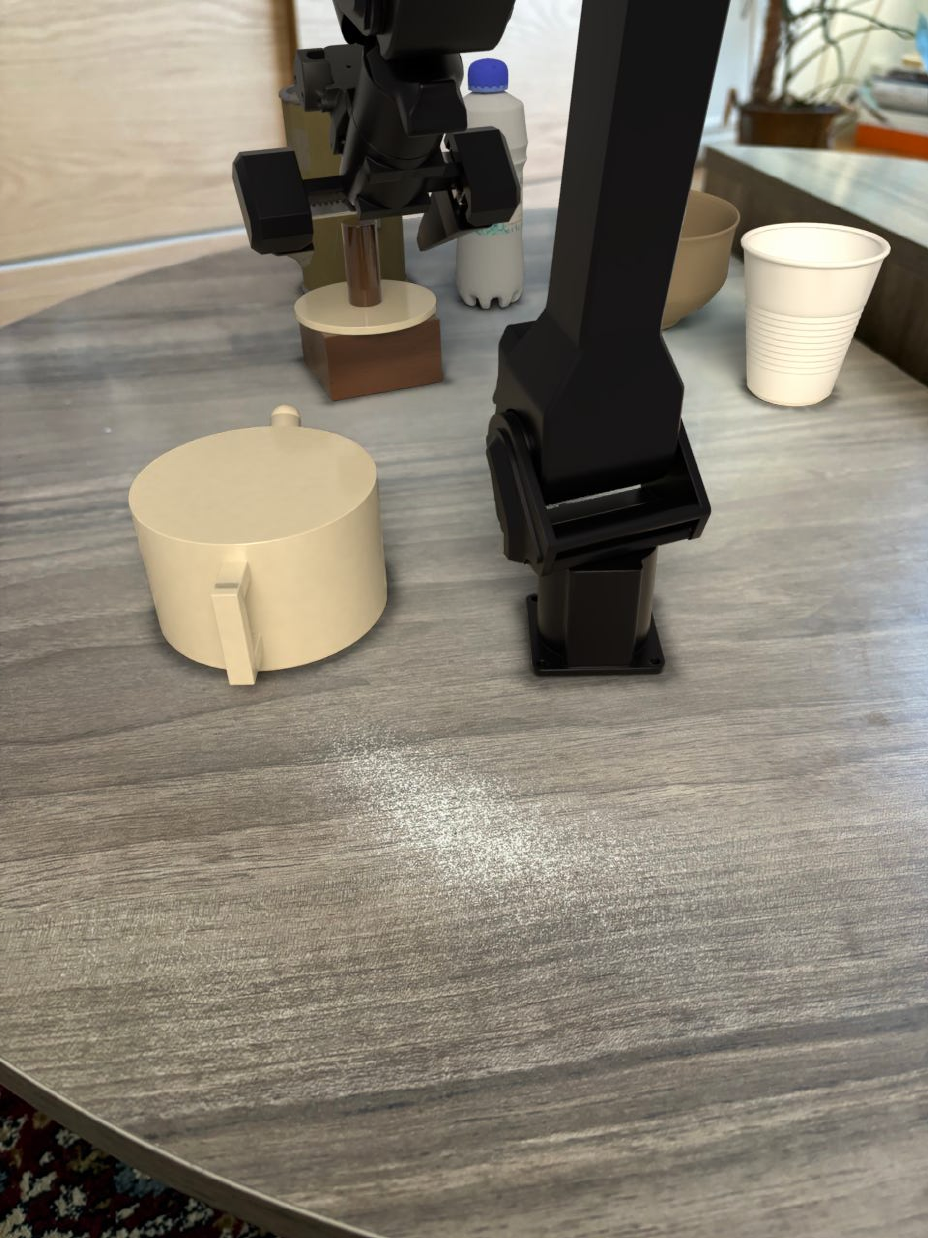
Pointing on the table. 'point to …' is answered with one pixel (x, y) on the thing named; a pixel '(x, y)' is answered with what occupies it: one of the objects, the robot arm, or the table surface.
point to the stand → (374, 359)
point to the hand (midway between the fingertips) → (362, 253)
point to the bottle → (497, 252)
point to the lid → (364, 292)
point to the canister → (328, 259)
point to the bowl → (701, 255)
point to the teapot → (262, 545)
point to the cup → (804, 305)
